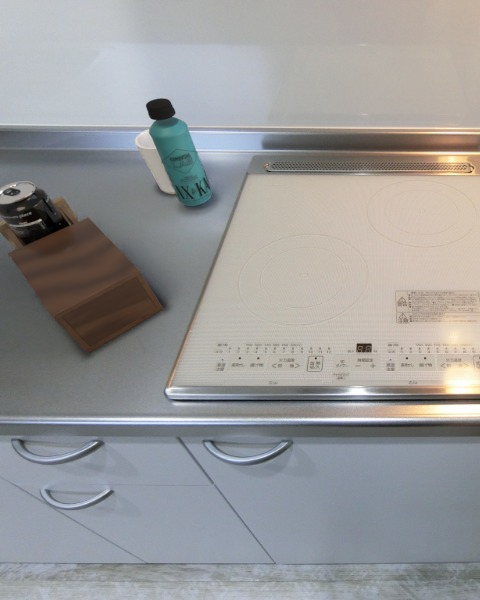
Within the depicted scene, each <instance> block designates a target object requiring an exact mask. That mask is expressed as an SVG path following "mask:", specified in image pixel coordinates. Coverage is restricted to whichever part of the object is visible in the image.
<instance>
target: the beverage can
mask: <svg viewBox="0 0 480 600" xmlns="http://www.w3.org/2000/svg"><path fill="white" fill-rule="evenodd" d="M52 200H53V199H52V198H51V197H50V195H48V193H47V192H46V191H45V190H44V189H43V188H41V187H39V186H36V184H35V183H33V182H31V181H29V180H28V181H27V180H20V181H14V182H11V183H7V184H6V185H3V186H1V187H0V218H1V219H2V221H3V220H4V221H5V222H6V223H7V225H8V226H9V227H10V228H11V229H12V230H13V232H14V233H15V234H16V235H17V236H18V237H19V239H20V240H21V241H22V242H23V243H24V244H25V245H28V244H30V243H32V242H34V241H36V240H39V239H41V238H43V237H45V236H48V235H50V234H52V233H54V232H57V231H59V230H61V229H63V228H66V227H68V226H70V225H69V223H68V222H67V221H66V219H65V218H64V217H63V215H62V214H61V212H60V211H59V210H58V208H57V207H56V206H55V204H54V203H53V201H52Z"/></svg>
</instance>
